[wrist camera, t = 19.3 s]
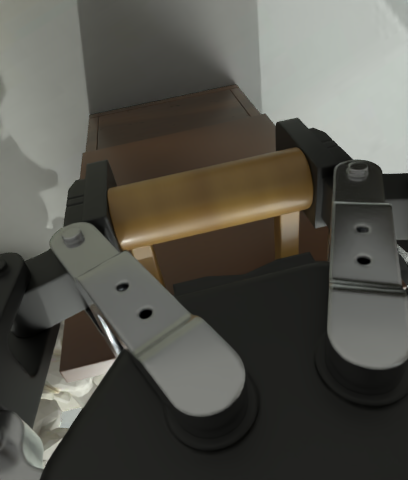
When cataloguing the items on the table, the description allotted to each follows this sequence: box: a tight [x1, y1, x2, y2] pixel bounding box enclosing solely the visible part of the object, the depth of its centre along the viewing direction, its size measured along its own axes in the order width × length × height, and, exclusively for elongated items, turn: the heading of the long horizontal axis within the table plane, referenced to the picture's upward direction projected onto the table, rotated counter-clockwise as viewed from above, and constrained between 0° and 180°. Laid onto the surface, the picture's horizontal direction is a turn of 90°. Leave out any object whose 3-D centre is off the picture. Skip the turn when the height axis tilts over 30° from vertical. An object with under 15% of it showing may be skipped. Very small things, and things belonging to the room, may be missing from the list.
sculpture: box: [33, 320, 105, 469], centre depth 36 cm, size 21×20×25 cm
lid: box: [59, 114, 407, 383], centre depth 18 cm, size 16×12×6 cm
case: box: [86, 84, 261, 152], centre depth 33 cm, size 15×12×7 cm
